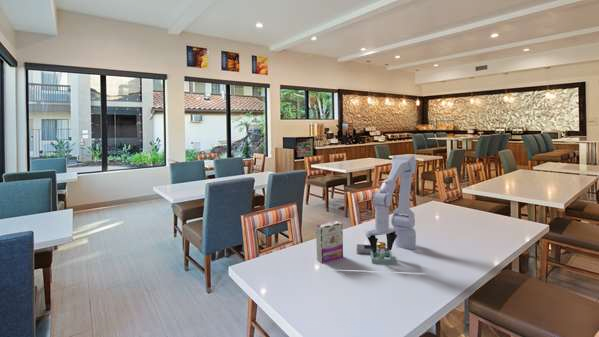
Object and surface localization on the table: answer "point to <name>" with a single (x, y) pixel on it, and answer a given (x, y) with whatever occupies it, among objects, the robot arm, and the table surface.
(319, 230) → the candy bar box
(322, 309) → the table surface
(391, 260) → the tray
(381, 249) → the pin
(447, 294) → the table surface
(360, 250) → the plate
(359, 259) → the table surface
